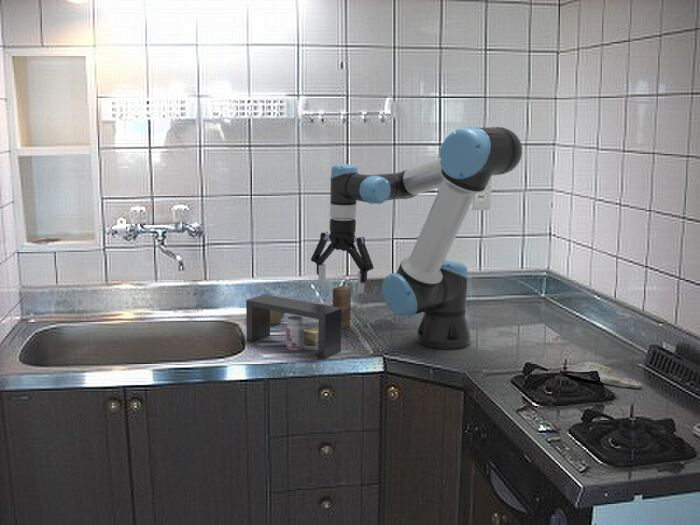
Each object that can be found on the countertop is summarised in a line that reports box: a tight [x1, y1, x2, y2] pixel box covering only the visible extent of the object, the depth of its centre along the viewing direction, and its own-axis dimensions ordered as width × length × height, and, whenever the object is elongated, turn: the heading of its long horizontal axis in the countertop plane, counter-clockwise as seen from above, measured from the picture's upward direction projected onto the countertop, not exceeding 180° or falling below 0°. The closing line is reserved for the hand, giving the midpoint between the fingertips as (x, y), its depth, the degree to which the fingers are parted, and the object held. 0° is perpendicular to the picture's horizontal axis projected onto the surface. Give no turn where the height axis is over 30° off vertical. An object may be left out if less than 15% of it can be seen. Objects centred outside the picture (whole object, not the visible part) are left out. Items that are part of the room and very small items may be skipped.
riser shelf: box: [245, 293, 342, 360], centre depth 206 cm, size 26×8×12 cm, turn 58°
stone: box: [567, 361, 643, 389], centre depth 187 cm, size 20×4×10 cm
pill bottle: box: [285, 315, 305, 351], centre depth 206 cm, size 5×5×8 cm
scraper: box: [304, 285, 352, 346], centre depth 218 cm, size 7×21×12 cm, turn 148°
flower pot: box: [270, 295, 286, 326], centre depth 229 cm, size 10×10×7 cm
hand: (340, 289), depth 224 cm, fingers open, 13 cm apart
